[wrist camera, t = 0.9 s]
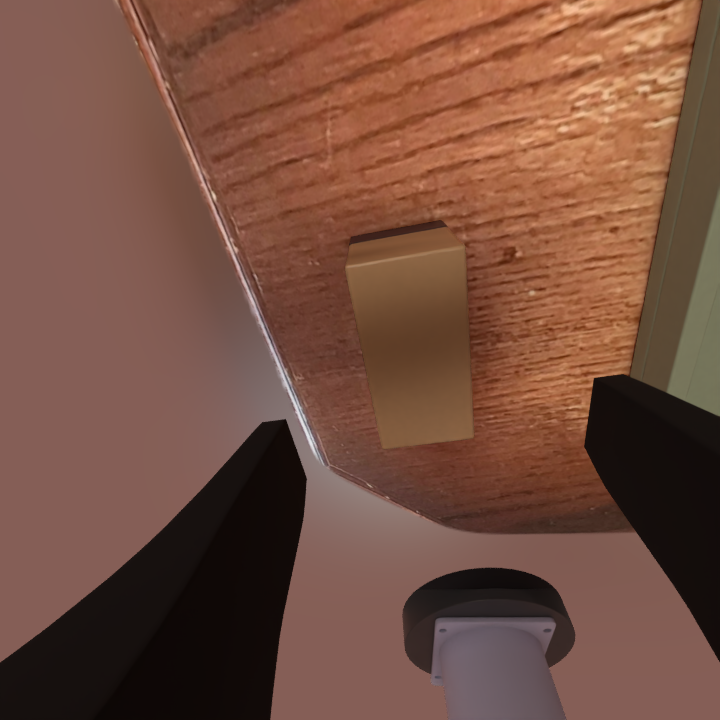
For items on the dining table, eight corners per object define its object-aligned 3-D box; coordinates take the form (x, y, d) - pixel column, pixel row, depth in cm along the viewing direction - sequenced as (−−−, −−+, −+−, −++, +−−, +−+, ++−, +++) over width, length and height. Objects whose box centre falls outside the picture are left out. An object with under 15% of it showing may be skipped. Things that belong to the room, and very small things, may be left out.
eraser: (453, 379, 17) (475, 439, 14) (379, 390, 18) (382, 450, 14) (442, 219, 14) (466, 244, 10) (350, 236, 14) (344, 266, 11)
